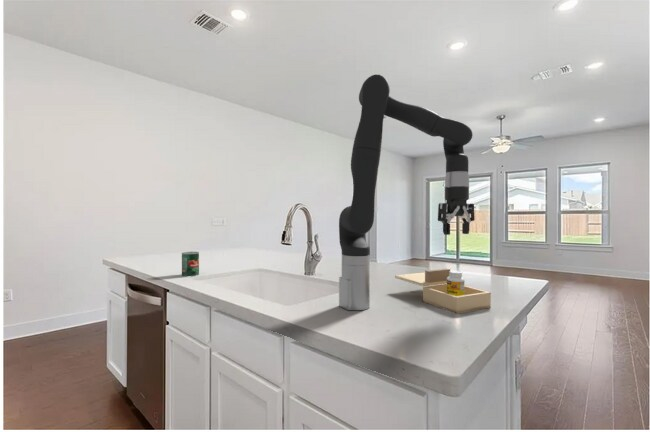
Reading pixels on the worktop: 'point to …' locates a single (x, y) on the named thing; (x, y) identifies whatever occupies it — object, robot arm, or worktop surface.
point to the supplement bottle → (455, 283)
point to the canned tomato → (190, 263)
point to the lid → (426, 277)
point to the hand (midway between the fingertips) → (456, 234)
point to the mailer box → (457, 299)
